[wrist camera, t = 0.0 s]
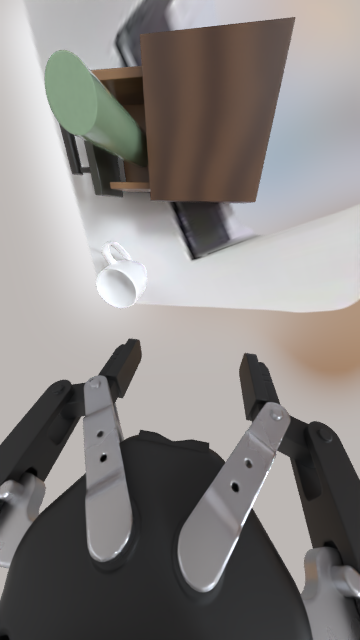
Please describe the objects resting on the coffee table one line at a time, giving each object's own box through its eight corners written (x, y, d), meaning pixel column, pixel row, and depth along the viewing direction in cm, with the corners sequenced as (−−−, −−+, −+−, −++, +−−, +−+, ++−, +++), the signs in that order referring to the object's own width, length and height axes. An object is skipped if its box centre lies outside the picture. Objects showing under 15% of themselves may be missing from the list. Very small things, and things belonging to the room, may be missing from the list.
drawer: (94, 196, 33) (67, 194, 27) (72, 95, 26) (29, 62, 20) (187, 198, 31) (181, 195, 25) (191, 87, 24) (183, 47, 18)
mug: (158, 284, 42) (143, 306, 33) (129, 289, 44) (106, 311, 35) (143, 231, 36) (118, 240, 27) (109, 239, 38) (76, 250, 29)
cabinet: (165, 201, 33) (150, 200, 25) (162, 87, 25) (139, 33, 17) (244, 203, 31) (255, 202, 23) (268, 79, 23) (295, 16, 15)
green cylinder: (123, 128, 26) (34, 51, 13) (151, 127, 26) (88, 46, 13) (127, 168, 29) (57, 136, 16) (153, 167, 28) (102, 134, 15)
